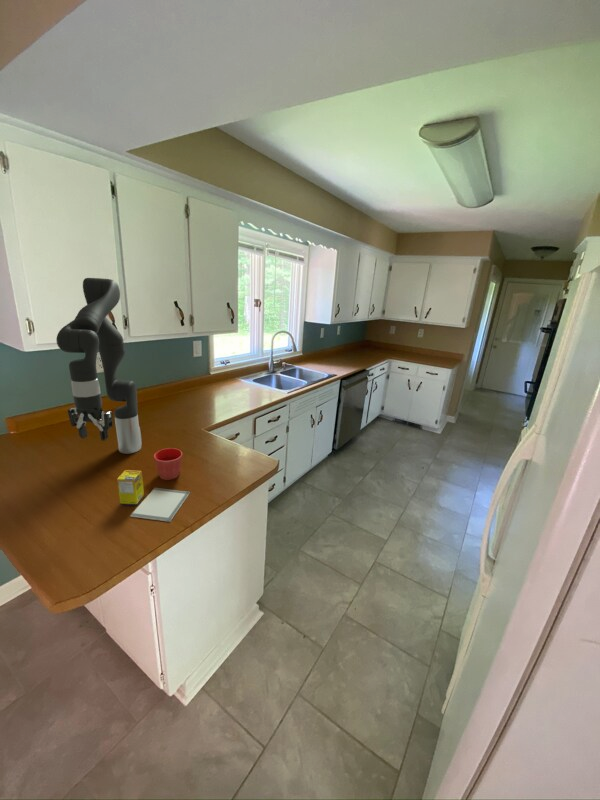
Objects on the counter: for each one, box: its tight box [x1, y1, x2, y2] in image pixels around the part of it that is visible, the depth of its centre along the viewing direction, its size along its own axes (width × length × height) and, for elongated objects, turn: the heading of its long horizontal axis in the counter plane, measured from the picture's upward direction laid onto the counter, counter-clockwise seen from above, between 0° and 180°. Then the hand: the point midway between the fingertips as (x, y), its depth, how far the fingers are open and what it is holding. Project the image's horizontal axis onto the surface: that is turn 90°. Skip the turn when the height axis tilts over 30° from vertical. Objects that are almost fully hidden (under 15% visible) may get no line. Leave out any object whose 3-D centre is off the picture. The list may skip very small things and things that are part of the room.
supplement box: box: [116, 469, 145, 507], centre depth 113 cm, size 6×6×11 cm
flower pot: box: [153, 447, 183, 481], centre depth 129 cm, size 11×11×10 cm
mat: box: [130, 487, 191, 523], centre depth 114 cm, size 16×14×1 cm
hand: (94, 438), depth 107 cm, fingers open, 6 cm apart
